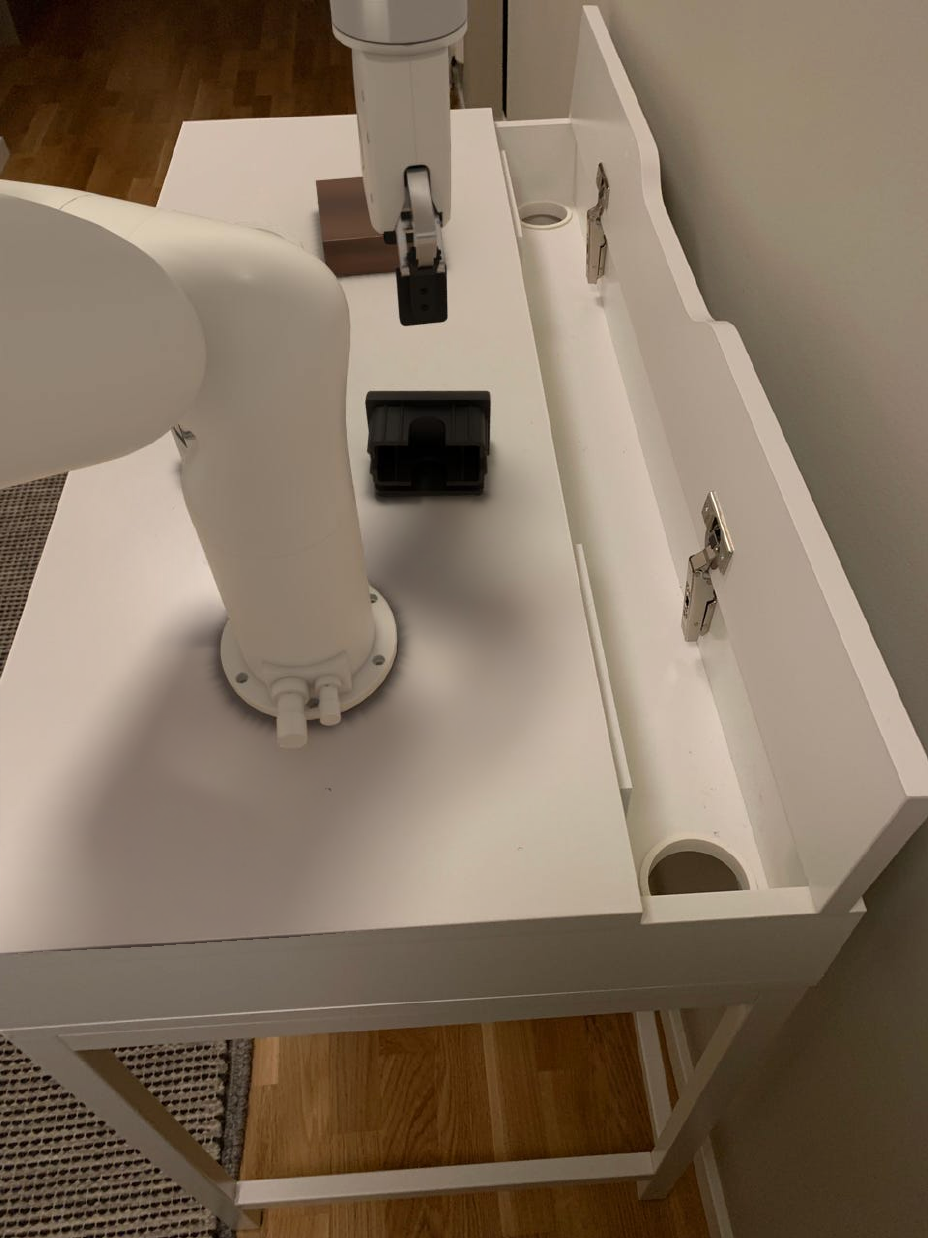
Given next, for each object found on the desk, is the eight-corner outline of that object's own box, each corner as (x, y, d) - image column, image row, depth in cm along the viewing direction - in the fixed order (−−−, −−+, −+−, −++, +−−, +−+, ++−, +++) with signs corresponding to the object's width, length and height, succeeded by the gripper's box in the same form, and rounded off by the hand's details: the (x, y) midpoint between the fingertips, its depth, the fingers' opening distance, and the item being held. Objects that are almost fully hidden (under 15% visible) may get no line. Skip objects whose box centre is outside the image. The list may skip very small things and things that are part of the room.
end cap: (488, 437, 77) (490, 374, 71) (489, 496, 73) (491, 434, 67) (374, 437, 77) (367, 374, 71) (369, 496, 73) (361, 434, 67)
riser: (441, 266, 92) (441, 230, 89) (327, 277, 91) (322, 241, 88) (427, 206, 99) (426, 170, 96) (320, 215, 98) (315, 179, 95)
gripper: (318, -56, 52) (350, 218, 66) (342, 72, 42) (373, 363, 56) (443, -64, 53) (448, 209, 67) (495, 60, 43) (488, 351, 57)
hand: (414, 279), depth 62 cm, fingers open, 9 cm apart
